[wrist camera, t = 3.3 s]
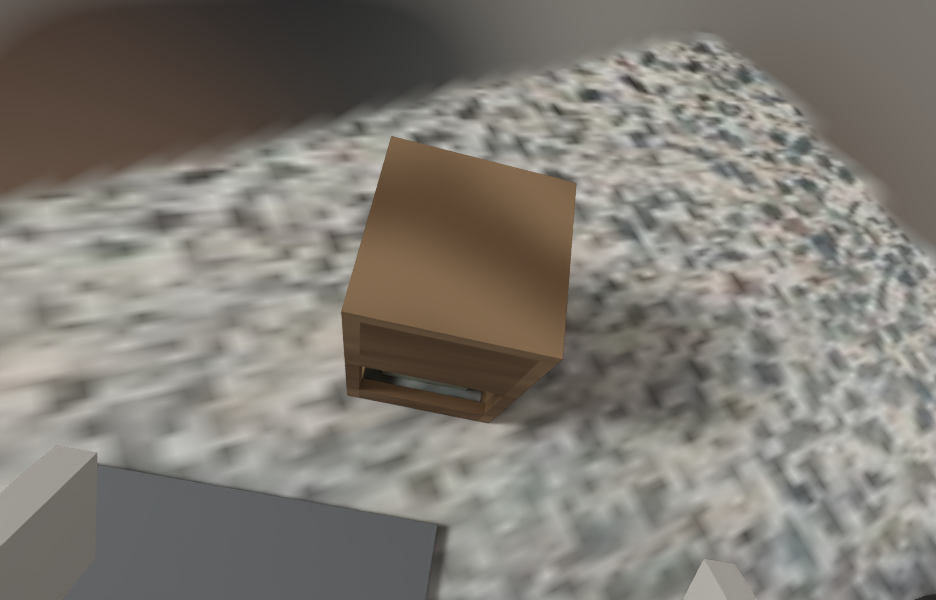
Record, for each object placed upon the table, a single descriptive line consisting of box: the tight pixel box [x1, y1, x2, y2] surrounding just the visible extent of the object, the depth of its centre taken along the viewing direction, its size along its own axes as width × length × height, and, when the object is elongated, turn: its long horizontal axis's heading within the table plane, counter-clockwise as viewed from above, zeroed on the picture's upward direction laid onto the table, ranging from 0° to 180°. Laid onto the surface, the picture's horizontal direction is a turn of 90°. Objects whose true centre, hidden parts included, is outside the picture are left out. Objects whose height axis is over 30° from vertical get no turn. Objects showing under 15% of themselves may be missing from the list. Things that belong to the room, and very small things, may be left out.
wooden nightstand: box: [341, 136, 576, 423], centre depth 24 cm, size 7×7×11 cm
